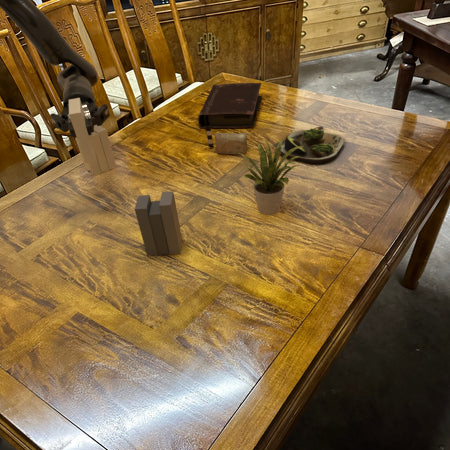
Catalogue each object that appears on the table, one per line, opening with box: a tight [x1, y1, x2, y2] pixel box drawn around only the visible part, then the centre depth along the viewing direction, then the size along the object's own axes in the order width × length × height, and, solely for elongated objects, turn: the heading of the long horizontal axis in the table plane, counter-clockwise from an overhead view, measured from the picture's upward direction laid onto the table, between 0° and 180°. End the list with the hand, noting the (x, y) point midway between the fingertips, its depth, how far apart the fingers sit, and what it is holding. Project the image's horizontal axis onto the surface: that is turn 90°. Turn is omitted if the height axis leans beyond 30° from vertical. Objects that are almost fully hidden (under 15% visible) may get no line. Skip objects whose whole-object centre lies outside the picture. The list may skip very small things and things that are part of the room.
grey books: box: [134, 190, 183, 257], centre depth 88 cm, size 5×7×12 cm
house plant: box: [237, 137, 303, 216], centre depth 94 cm, size 14×14×16 cm
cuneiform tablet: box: [204, 126, 248, 155], centre depth 119 cm, size 7×4×12 cm
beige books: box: [74, 125, 118, 177], centre depth 116 cm, size 5×7×12 cm
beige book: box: [69, 98, 96, 163], centre depth 93 cm, size 8×2×11 cm, turn 15°
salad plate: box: [272, 125, 345, 165], centre depth 118 cm, size 19×18×5 cm
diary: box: [197, 82, 262, 129], centre depth 139 cm, size 19×25×5 cm
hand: (81, 132), depth 90 cm, fingers closed on beige book, 2 cm apart
